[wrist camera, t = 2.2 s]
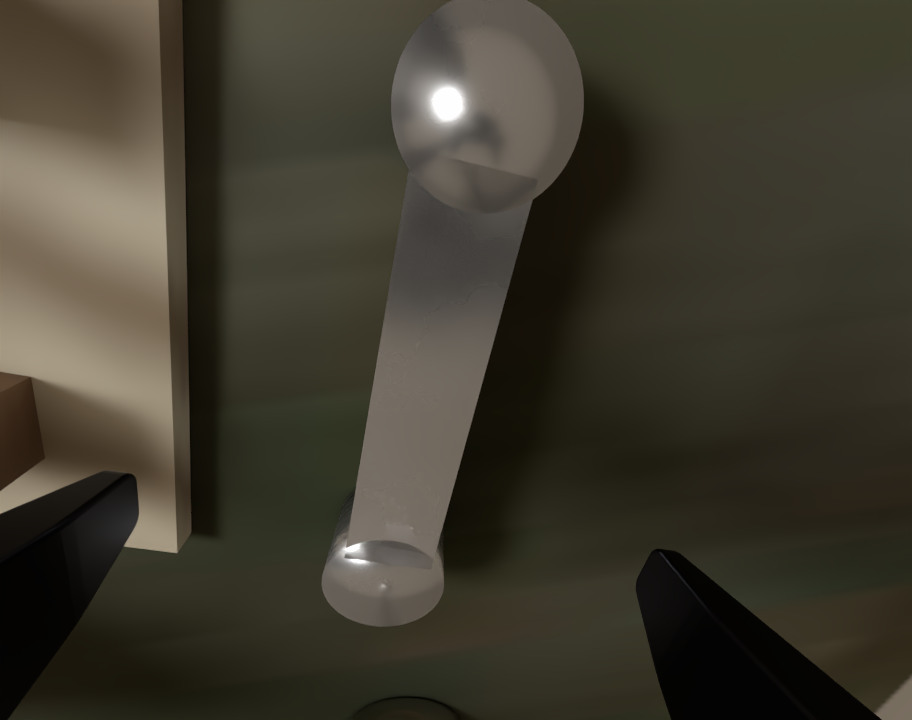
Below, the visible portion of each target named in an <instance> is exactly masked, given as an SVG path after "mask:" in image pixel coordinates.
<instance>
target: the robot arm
mask: <svg viewBox="0 0 912 720" xmlns="http://www.w3.org/2000/svg"><path fill="white" fill-rule="evenodd" d="M138 517H139V503H138V490H137V480H136V477H135V476H134V475H133V474H131V473H127V472H120V471H113V470H104V471H101V472H98V473H96V474H93V475H91V476H89V477H86V478H84V479H81V480H79V481H77V482H74V483H72V484H70V485H67V486H65V487H62V488H60V489H58V490H55V491H53V492H51V493H48V494H46V495H43V496H41V497H39V498H36V499H34V500H32V501H29V502H27V503H24V504H22V505H20V506H17V507H15V508H13V509H10V510H8V511H5V512H3V513H1V514H0V720H7V719H8V718H9V717H10V715H11V714H12V713H13V711H14V710H15V708H16V707H17V706H18V704H19V703H20V702H21V700H22V699H23V698H24V696H25V695H26V693H27V692H28V691H29V689H30V688H31V687H32V685H33V684H34V682H35V681H36V680H37V678H38V677H39V676H40V674H41V673H42V672H43V670H44V669H45V667H46V666H47V665H48V663H49V662H50V661H51V659H52V658H53V656H54V655H55V654H56V652H57V651H58V650H59V648H60V647H61V646H62V644H63V643H64V641H65V640H66V639H67V637H68V636H69V634H70V633H71V631H72V630H73V629H74V627H75V626H76V624H77V623H78V621H79V620H80V618H81V616H82V615H83V613H84V612H85V610H86V608H87V607H88V605H89V603H90V602H91V600H92V598H93V597H94V595H95V593H96V592H97V590H98V588H99V587H100V585H101V583H102V582H103V580H104V578H105V577H106V575H107V573H108V572H109V570H110V568H111V567H112V565H113V563H114V562H115V560H116V558H117V557H118V555H119V553H120V552H121V550H122V548H123V547H124V545H125V543H126V541H127V540H128V538H129V536H130V535H131V533H132V531H133V530H134V528H135V526H136V524H137V521H138ZM636 593H637V598H638V602H639V606H640V610H641V614H642V618H643V622H644V626H645V630H646V634H647V638H648V642H649V646H650V650H651V654H652V658H653V662H654V666H655V670H656V673H657V677H658V681H659V684H660V687H661V690H662V694H663V697H664V700H665V703H666V706H667V709H668V712H669V714H670V717H671V720H881V719H880V718H879V717H878V716H877V715H875V714H874V713H873V712H872V711H871V710H869V709H868V708H867V707H866V706H864V705H863V704H862V703H861V702H860V701H858V700H857V699H856V698H855V697H854V696H852V695H851V694H850V693H849V692H847V691H846V690H845V689H844V688H843V687H841V686H840V685H839V684H838V683H837V682H835V681H834V680H833V679H832V678H830V677H829V676H828V675H827V674H826V673H824V672H823V671H822V670H821V669H820V668H818V667H817V666H816V665H815V664H813V663H812V662H811V661H810V660H809V659H807V658H806V657H805V656H804V655H803V654H801V653H800V652H799V651H798V650H796V649H795V648H794V647H793V646H792V645H790V644H789V643H788V642H787V641H786V640H784V639H783V638H782V637H781V636H779V635H778V634H777V633H776V632H775V631H773V630H772V629H771V628H770V627H769V626H767V625H766V624H765V623H764V622H762V621H761V620H760V619H759V618H758V617H756V616H755V615H754V614H753V613H752V612H750V611H749V610H748V609H747V608H746V607H744V606H743V605H742V604H741V603H739V602H738V601H737V600H736V599H735V598H733V597H732V596H731V595H730V594H729V593H727V592H726V591H725V590H724V589H722V588H721V587H720V586H719V585H718V584H716V583H715V582H714V581H713V580H712V579H710V578H709V577H708V576H707V575H705V574H704V573H703V572H702V571H701V570H699V569H698V568H697V567H696V566H695V565H693V564H692V563H691V562H690V561H688V560H687V559H686V558H685V557H684V556H682V555H681V554H680V553H678V552H676V551H671V550H664V549H655V550H654V551H652V552H651V554H650V555H649V557H648V559H647V561H646V563H645V565H644V567H643V568H642V570H641V572H640V574H639V576H638V578H637V582H636Z"/></svg>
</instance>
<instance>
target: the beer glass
mask: <svg viewBox="0 0 912 720" xmlns="http://www.w3.org/2000/svg"><path fill="white" fill-rule="evenodd" d="M351 720H460V719H459V718H458V716H457V715H456V714H455V713H454V712H453V711H451V710H450V709H449V708H447V707H446V706H444V705H442V704H439V703H437V702H434V701H431V700H426V699H421V698H410V697H403V698H392V699H387V700H383V701H379V702H376V703H373V704H371V705H369V706H367V707H365V708H364V709H362V710H361V711H359V712H358V713H357V714H356V715H355V716H354V717H353V718H352V719H351Z"/></svg>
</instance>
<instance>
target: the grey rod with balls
mask: <svg viewBox="0 0 912 720" xmlns="http://www.w3.org/2000/svg"><path fill="white" fill-rule="evenodd" d="M583 111H584V90H583V81H582V76H581V71H580V67H579V63H578V61H577V58H576V55H575V52H574V50H573V48H572V46H571V44H570V42H569V40H568V38H567V37H566V35H565V34H564V33H563V31H562V30H561V28H560V27H559V26H558V25H557V23H556V22H555V21H554V20H553V19H552V18H551V17H550V16H549V15H548V14H546V13H545V12H544V11H543V10H542V9H540V8H539V7H537V6H536V5H534V4H532V3H531V2H529V1H527V0H453V1H451V2H448V3H446V4H445V5H443V6H442V7H440V8H439V9H437V10H436V11H435V12H433V13H432V14H431V15H430V16H429V17H428V18H427V19H426V20H425V21H424V22H423V23H422V24H421V25H420V26H419V27H418V29H417V30H416V31H415V32H414V34H413V35H412V37H411V38H410V40H409V42H408V43H407V45H406V47H405V49H404V51H403V53H402V55H401V57H400V60H399V63H398V66H397V69H396V72H395V76H394V81H393V86H392V96H391V117H392V124H393V131H394V135H395V138H396V142H397V145H398V148H399V151H400V153H401V156H402V158H403V160H404V162H405V163H406V165H407V167H408V169H409V173H408V179H407V185H406V191H405V197H404V203H403V209H402V215H401V221H400V227H399V233H398V239H397V245H396V251H395V257H394V263H393V269H392V275H391V281H390V287H389V293H388V299H387V305H386V311H385V317H384V323H383V329H382V335H381V341H380V347H379V353H378V359H377V365H376V371H375V377H374V383H373V389H372V395H371V401H370V407H369V413H368V419H367V425H366V431H365V437H364V443H363V449H362V455H361V461H360V467H359V473H358V479H357V485H356V489H355V490H354V491H353V492H352V493H351V494H350V495H349V496H348V497H347V498H346V500H345V501H344V503H343V506H342V509H341V512H340V516H339V519H338V523H337V526H336V530H335V533H334V537H333V540H332V544H331V547H330V551H329V554H328V558H327V561H326V565H325V568H324V572H323V576H322V590H323V593H324V595H325V597H326V599H327V601H328V602H329V604H330V605H331V606H332V607H333V608H334V609H335V610H336V611H337V612H339V613H340V614H341V615H343V616H345V617H346V618H348V619H351V620H353V621H356V622H358V623H362V624H366V625H371V626H382V627H383V626H397V625H402V624H406V623H410V622H412V621H415V620H417V619H419V618H421V617H423V616H424V615H426V614H427V613H429V612H430V611H431V610H432V609H433V608H434V607H435V606H436V605H437V603H438V602H439V600H440V598H441V596H442V593H443V589H444V554H443V524H444V520H445V517H446V513H447V509H448V506H449V502H450V498H451V495H452V491H453V488H454V484H455V480H456V477H457V473H458V469H459V466H460V462H461V458H462V455H463V451H464V448H465V444H466V440H467V437H468V433H469V429H470V426H471V422H472V418H473V415H474V411H475V408H476V404H477V400H478V397H479V393H480V389H481V386H482V382H483V378H484V375H485V371H486V368H487V364H488V360H489V357H490V353H491V349H492V346H493V342H494V339H495V335H496V331H497V328H498V324H499V320H500V317H501V313H502V309H503V306H504V302H505V299H506V295H507V291H508V288H509V284H510V280H511V277H512V273H513V269H514V266H515V262H516V259H517V255H518V251H519V248H520V244H521V240H522V237H523V233H524V229H525V226H526V222H527V219H528V215H529V211H530V208H531V204H532V200H533V199H534V198H536V197H537V196H538V195H540V194H541V193H542V192H544V191H545V190H546V189H547V188H548V187H549V186H550V185H551V184H552V183H553V182H554V181H555V179H556V178H557V177H558V176H559V175H560V173H561V172H562V170H563V169H564V167H565V166H566V164H567V163H568V161H569V159H570V157H571V155H572V153H573V151H574V148H575V146H576V143H577V140H578V137H579V133H580V129H581V125H582V119H583Z"/></svg>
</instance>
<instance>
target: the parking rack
mask: <svg viewBox="0 0 912 720" xmlns="http://www.w3.org/2000/svg"><path fill="white" fill-rule="evenodd" d="M104 470H113V471H120V472H127V473H131V474H133V475H134V476H135V477H136V480H137V490H138V503H139V517H138V521H137V524H136V526H135V528H134V530H133V531H132V533H131V535H130V536H129V538H128V540H127V541H126V543H125V545H124V546H125V547H133V548H141V549H149V550H157V551H165V552H173V553H178V551H179V550H180V548H181V547H182V545H183V544H184V543H185V541H186V540H187V538H188V537H189V535H190V534H191V477H190V419H189V361H188V302H187V244H186V185H185V127H184V69H183V10H182V0H0V514H1V513H3V512H5V511H8V510H10V509H13V508H15V507H17V506H20V505H22V504H24V503H27V502H29V501H32V500H34V499H36V498H39V497H41V496H43V495H46V494H48V493H51V492H53V491H55V490H58V489H60V488H62V487H65V486H67V485H70V484H72V483H74V482H77V481H79V480H81V479H84V478H86V477H89V476H91V475H93V474H96V473H98V472H101V471H104Z"/></svg>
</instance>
